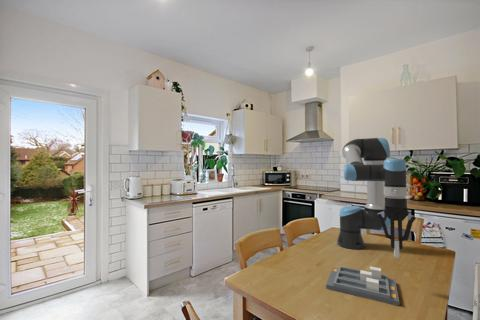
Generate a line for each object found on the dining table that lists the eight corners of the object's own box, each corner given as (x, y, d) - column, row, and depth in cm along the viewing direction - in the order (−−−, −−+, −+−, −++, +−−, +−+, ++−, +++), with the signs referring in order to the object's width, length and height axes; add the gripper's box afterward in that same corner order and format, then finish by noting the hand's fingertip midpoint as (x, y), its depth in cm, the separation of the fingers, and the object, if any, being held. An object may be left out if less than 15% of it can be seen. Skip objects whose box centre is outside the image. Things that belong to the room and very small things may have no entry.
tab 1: (360, 280, 97) (360, 270, 97) (371, 282, 95) (371, 272, 95) (360, 283, 94) (360, 273, 94) (371, 285, 92) (371, 275, 92)
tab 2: (370, 275, 100) (369, 266, 100) (381, 278, 98) (380, 268, 98) (369, 278, 98) (369, 269, 98) (381, 281, 96) (381, 271, 96)
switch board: (333, 270, 109) (332, 264, 109) (395, 283, 97) (395, 276, 97) (326, 288, 93) (326, 281, 93) (399, 306, 81) (399, 298, 81)
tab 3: (366, 288, 90) (366, 277, 90) (378, 290, 88) (378, 279, 88) (366, 291, 88) (366, 280, 88) (378, 294, 86) (378, 283, 86)
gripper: (376, 197, 95) (378, 256, 94) (416, 199, 89) (418, 263, 88) (376, 195, 101) (377, 251, 101) (414, 197, 95) (415, 256, 94)
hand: (396, 256), depth 94 cm, fingers closed
